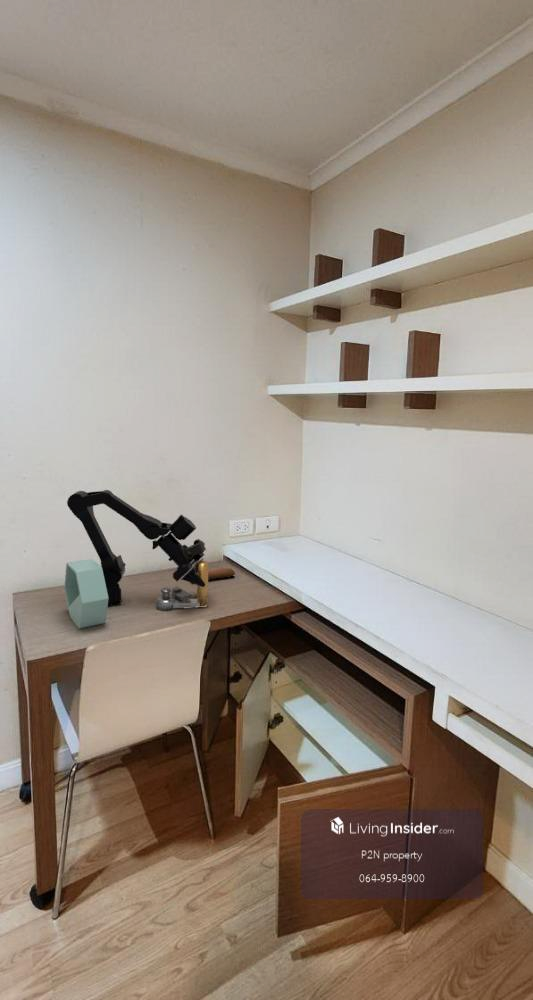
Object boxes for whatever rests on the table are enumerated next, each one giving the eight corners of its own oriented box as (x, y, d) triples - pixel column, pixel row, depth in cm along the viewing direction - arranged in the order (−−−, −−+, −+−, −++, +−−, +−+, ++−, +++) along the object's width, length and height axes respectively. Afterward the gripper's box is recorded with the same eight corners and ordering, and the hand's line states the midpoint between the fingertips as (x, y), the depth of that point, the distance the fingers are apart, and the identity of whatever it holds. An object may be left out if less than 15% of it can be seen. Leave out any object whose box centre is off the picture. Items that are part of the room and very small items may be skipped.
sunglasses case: (226, 571, 207) (230, 560, 203) (232, 584, 202) (236, 573, 198) (184, 577, 198) (187, 565, 194) (189, 591, 194) (192, 579, 190)
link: (156, 610, 165) (155, 566, 163) (157, 603, 171) (156, 560, 168) (208, 609, 168) (208, 565, 165) (207, 602, 174) (207, 559, 171)
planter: (73, 634, 157) (60, 570, 163) (98, 628, 162) (85, 567, 168) (85, 622, 144) (71, 553, 150) (112, 616, 149) (98, 550, 155)
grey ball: (162, 600, 166) (162, 592, 165) (159, 597, 169) (159, 588, 168) (172, 599, 167) (172, 590, 167) (169, 595, 170) (169, 587, 170)
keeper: (180, 607, 169) (180, 595, 168) (169, 600, 175) (169, 588, 174) (191, 604, 172) (191, 593, 171) (180, 598, 177) (180, 586, 177)
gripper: (182, 540, 159) (216, 576, 159) (198, 527, 177) (229, 560, 177) (158, 563, 161) (192, 599, 161) (176, 548, 179) (207, 580, 180)
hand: (206, 583), depth 170 cm, fingers open, 5 cm apart
